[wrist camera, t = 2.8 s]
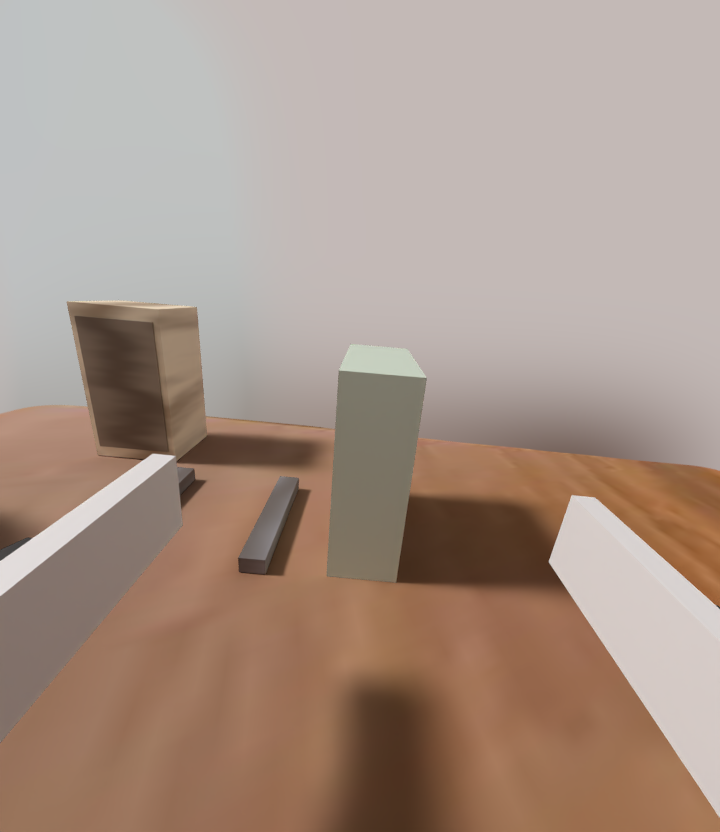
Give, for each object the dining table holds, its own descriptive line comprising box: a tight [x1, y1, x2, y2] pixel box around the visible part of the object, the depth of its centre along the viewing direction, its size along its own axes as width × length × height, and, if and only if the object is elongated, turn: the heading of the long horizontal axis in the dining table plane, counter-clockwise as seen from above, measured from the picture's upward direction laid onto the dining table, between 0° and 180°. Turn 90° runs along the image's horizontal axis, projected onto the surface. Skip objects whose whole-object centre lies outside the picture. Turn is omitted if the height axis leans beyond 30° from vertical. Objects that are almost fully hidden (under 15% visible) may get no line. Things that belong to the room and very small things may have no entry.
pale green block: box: [327, 344, 427, 583], centre depth 21 cm, size 4×9×12 cm, turn 178°
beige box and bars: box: [67, 301, 299, 574], centre depth 25 cm, size 18×18×13 cm
